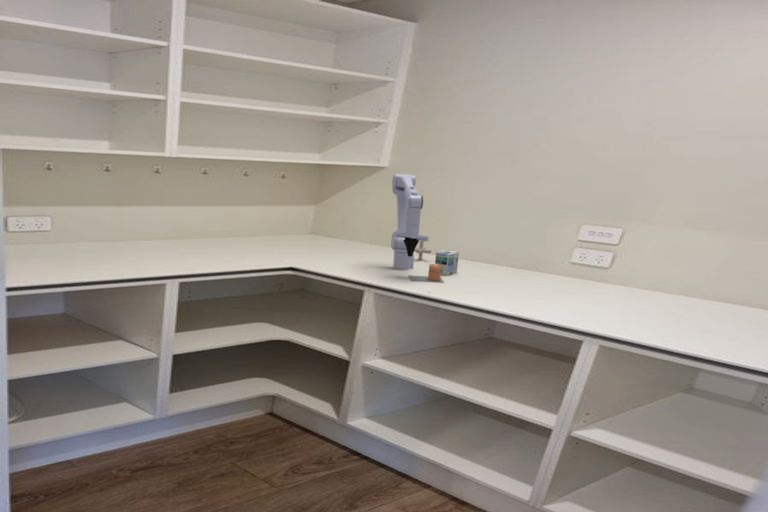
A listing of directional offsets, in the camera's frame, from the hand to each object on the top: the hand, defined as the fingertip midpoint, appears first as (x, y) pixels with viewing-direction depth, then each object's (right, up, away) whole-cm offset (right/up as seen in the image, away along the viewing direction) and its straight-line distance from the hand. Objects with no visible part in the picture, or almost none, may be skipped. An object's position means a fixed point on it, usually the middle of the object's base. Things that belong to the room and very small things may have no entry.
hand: (410, 256), depth 220 cm
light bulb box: (+17, -9, +14) cm, 23 cm away
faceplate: (+6, -11, -1) cm, 13 cm away
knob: (+10, -10, -1) cm, 14 cm away
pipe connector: (+7, -2, +46) cm, 46 cm away
